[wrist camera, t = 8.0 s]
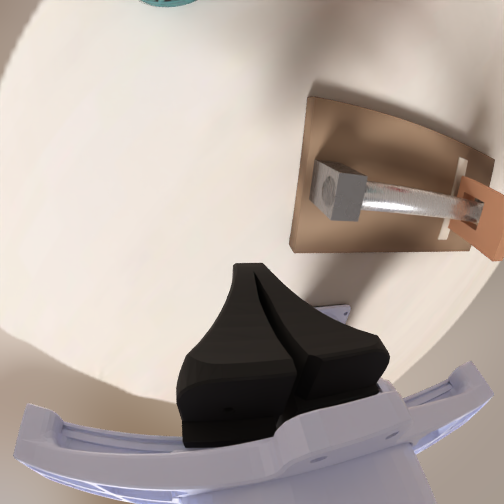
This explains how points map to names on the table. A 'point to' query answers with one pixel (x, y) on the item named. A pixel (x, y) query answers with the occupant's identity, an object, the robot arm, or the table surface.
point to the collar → (482, 219)
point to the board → (380, 179)
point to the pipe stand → (380, 196)
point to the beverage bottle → (168, 2)
